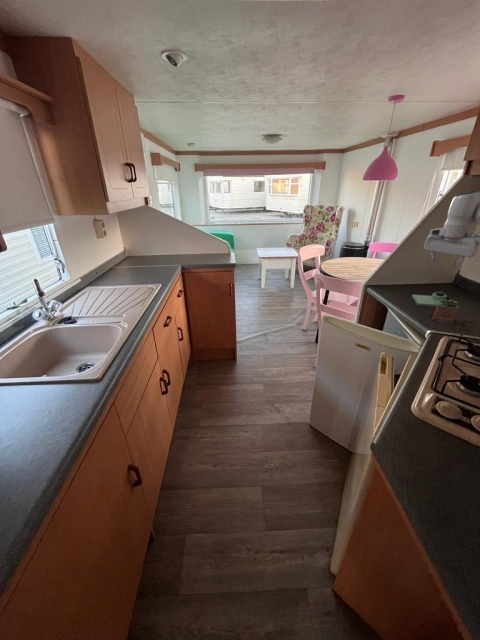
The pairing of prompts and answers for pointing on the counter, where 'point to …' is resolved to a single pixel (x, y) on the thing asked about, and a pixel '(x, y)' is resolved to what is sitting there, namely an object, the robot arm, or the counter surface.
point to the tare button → (440, 293)
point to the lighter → (446, 311)
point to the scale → (428, 299)
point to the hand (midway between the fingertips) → (444, 263)
